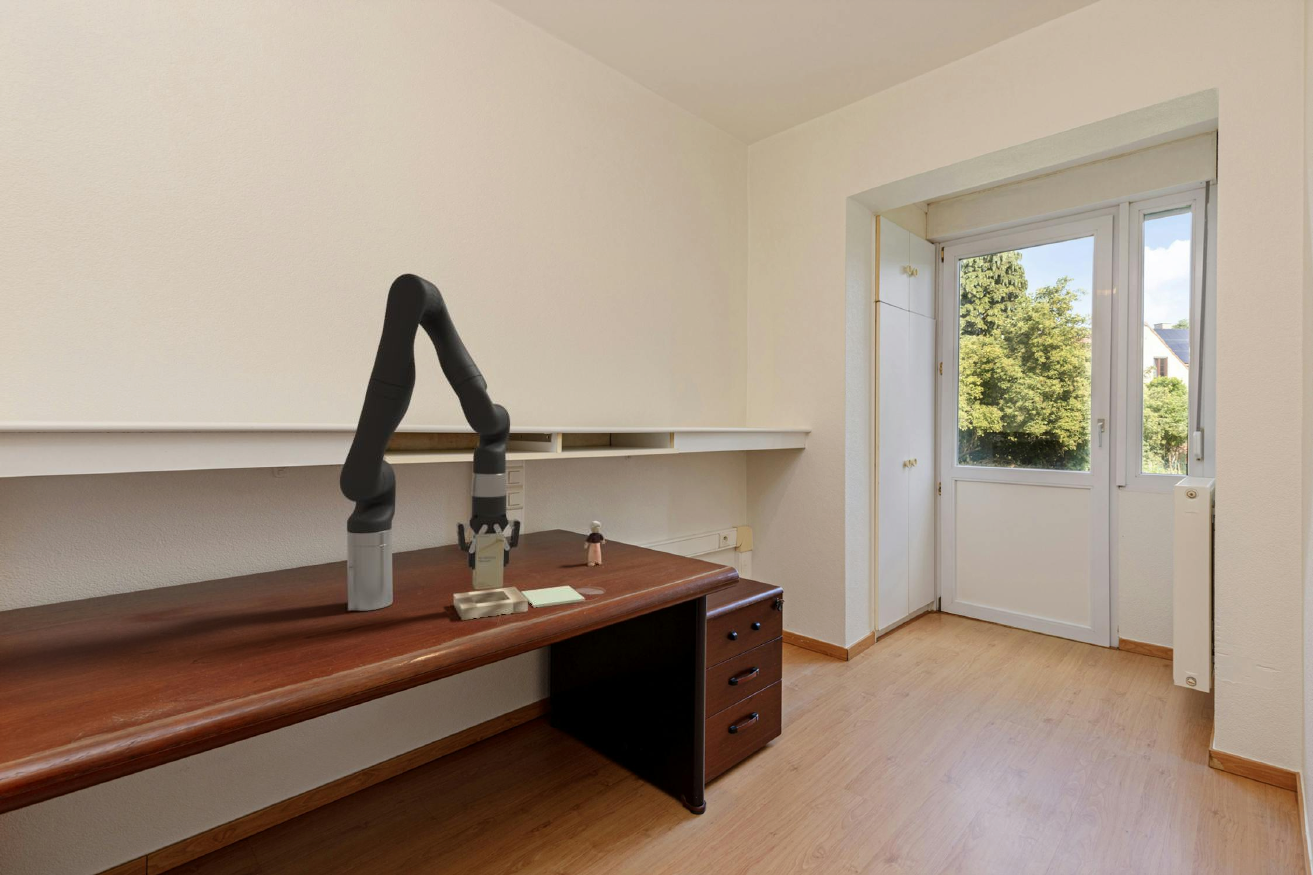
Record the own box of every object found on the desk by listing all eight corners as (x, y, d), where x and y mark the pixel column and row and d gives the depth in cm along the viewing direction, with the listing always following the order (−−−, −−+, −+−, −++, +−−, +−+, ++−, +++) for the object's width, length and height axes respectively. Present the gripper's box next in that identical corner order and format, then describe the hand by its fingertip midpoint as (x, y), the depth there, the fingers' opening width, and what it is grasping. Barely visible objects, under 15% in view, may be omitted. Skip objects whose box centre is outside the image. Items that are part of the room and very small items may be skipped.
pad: (534, 607, 140) (534, 605, 140) (521, 593, 151) (521, 591, 151) (584, 600, 145) (584, 598, 145) (568, 588, 156) (568, 585, 156)
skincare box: (474, 589, 136) (475, 534, 136) (472, 584, 140) (472, 531, 140) (504, 587, 139) (504, 533, 138) (500, 582, 143) (501, 529, 142)
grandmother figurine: (592, 567, 177) (592, 523, 177) (582, 565, 179) (581, 521, 179) (608, 562, 184) (608, 519, 183) (598, 560, 186) (598, 518, 185)
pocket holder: (462, 620, 131) (462, 608, 131) (453, 604, 142) (453, 594, 142) (527, 611, 137) (527, 600, 137) (514, 597, 148) (514, 586, 148)
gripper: (458, 496, 132) (457, 574, 133) (525, 494, 139) (524, 568, 139) (453, 492, 139) (452, 566, 140) (517, 490, 145) (516, 561, 146)
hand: (488, 567), depth 139 cm, fingers closed on skincare box, 6 cm apart
